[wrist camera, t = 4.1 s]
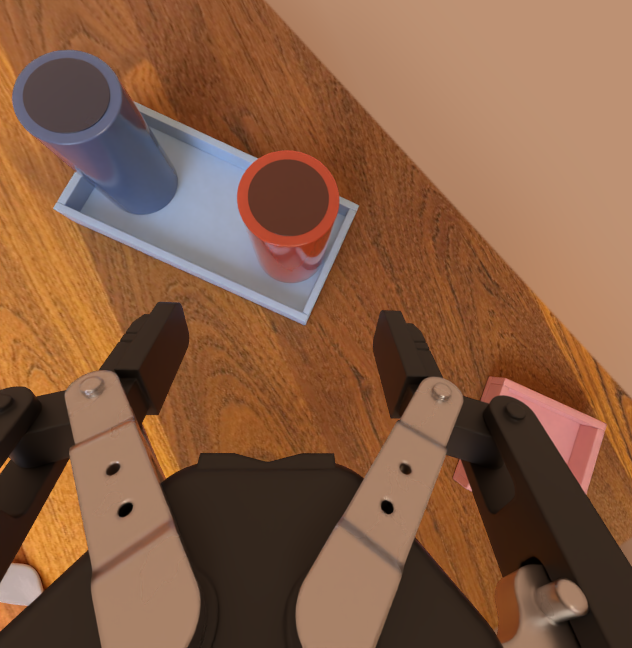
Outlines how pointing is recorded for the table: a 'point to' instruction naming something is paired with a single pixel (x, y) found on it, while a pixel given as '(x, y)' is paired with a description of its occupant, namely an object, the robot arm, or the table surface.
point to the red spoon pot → (288, 213)
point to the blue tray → (203, 221)
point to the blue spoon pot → (95, 129)
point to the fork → (20, 585)
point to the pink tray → (552, 429)
